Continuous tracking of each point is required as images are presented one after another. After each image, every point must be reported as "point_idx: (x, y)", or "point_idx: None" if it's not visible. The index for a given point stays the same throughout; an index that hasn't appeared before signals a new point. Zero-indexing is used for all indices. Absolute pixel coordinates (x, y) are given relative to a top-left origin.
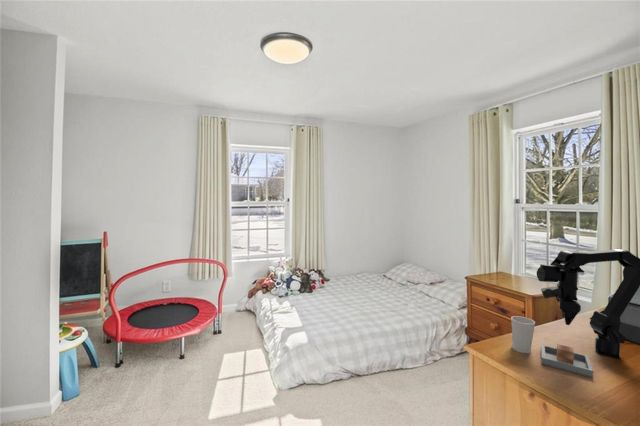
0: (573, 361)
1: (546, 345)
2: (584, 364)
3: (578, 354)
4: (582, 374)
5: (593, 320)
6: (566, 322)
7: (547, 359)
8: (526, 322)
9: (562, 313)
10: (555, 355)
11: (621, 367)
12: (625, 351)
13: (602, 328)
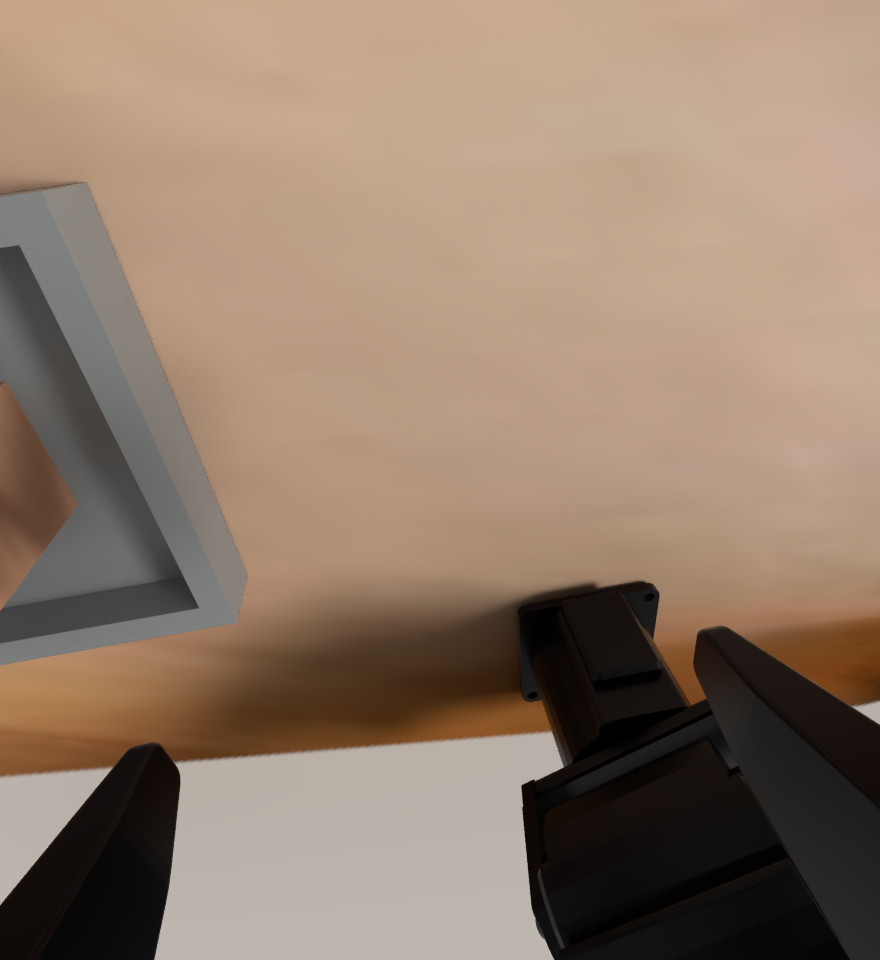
0: (77, 516)
1: (72, 266)
2: (111, 582)
3: (183, 568)
4: None
5: (711, 900)
6: (94, 813)
7: None
8: None
9: (757, 694)
10: (39, 367)
11: (366, 708)
12: (703, 692)
13: (548, 904)
